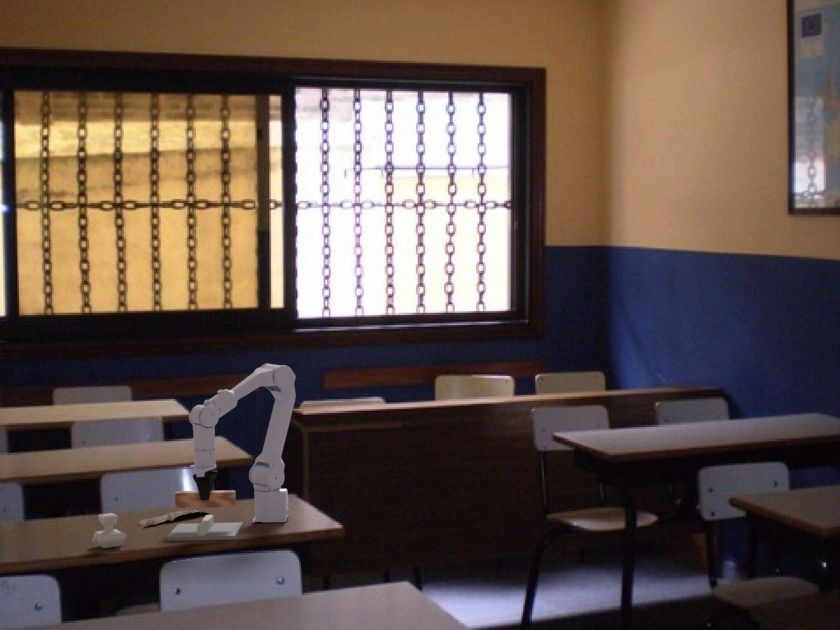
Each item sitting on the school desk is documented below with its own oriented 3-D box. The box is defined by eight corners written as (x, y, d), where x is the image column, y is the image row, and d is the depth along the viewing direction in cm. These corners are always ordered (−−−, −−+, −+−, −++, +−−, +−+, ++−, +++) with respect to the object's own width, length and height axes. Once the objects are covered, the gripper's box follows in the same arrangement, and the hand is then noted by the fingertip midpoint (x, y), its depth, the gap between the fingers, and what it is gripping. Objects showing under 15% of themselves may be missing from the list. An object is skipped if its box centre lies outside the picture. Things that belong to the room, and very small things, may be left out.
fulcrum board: (243, 525, 355) (242, 513, 354) (234, 539, 339) (234, 526, 338) (178, 527, 355) (178, 514, 354) (166, 540, 339) (166, 527, 339)
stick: (235, 504, 350) (235, 490, 350) (234, 506, 347) (233, 492, 347) (177, 505, 350) (177, 491, 350) (175, 507, 347) (175, 493, 347)
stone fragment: (213, 517, 372) (187, 513, 378) (212, 507, 372) (187, 503, 378) (150, 533, 351) (124, 529, 357) (149, 523, 351) (124, 519, 356)
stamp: (95, 551, 329) (94, 519, 328) (88, 546, 335) (87, 514, 334) (130, 546, 333) (128, 515, 333) (122, 542, 339) (121, 510, 338)
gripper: (195, 445, 355) (196, 493, 356) (184, 453, 341) (186, 504, 341) (220, 444, 355) (221, 493, 356) (211, 453, 340) (212, 503, 341)
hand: (206, 498), depth 349 cm, fingers closed on stick, 3 cm apart
